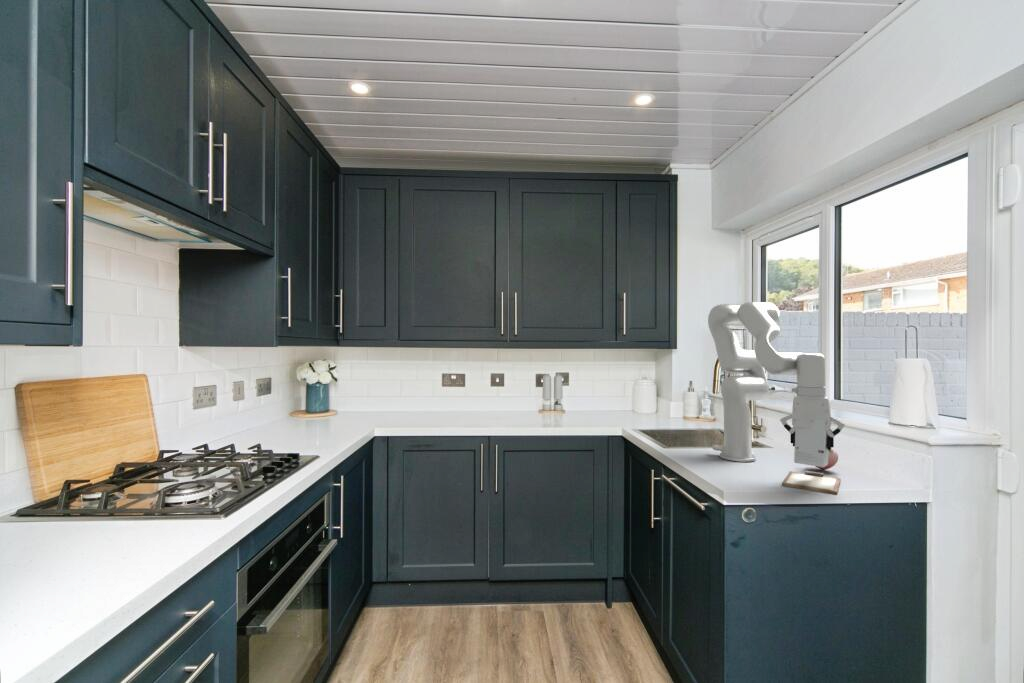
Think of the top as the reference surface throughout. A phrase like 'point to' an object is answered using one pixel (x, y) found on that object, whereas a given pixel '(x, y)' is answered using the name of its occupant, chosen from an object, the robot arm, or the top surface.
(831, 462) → the decorative fruit
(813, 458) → the skincare box
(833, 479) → the clipboard
